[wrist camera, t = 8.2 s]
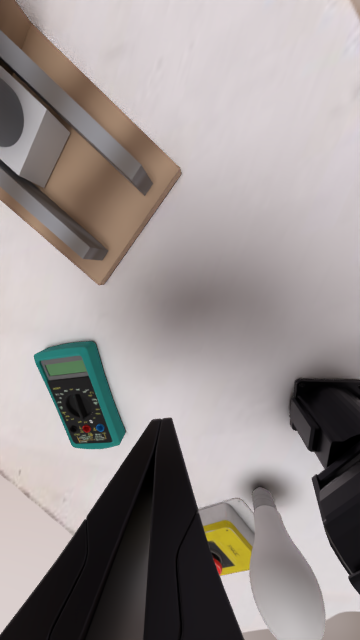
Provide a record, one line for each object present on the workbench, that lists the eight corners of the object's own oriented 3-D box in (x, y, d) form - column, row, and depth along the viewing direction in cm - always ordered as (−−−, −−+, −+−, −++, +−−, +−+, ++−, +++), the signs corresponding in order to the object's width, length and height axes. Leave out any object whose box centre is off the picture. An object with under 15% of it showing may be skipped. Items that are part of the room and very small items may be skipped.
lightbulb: (233, 498, 26) (252, 655, 15) (241, 467, 24) (268, 619, 14) (278, 508, 25) (329, 679, 15) (289, 477, 23) (356, 645, 13)
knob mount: (181, 173, 16) (156, 79, 8) (104, 284, 20) (35, 294, 12) (-19, -21, 14) (-299, -382, 6) (-62, 140, 18) (-271, 39, 10)
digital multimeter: (84, 435, 27) (70, 454, 24) (47, 345, 24) (26, 355, 21) (129, 433, 26) (120, 453, 23) (97, 337, 22) (81, 347, 20)
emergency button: (151, 557, 26) (245, 534, 22) (159, 517, 30) (239, 491, 26) (189, 595, 27) (284, 580, 23) (191, 552, 31) (272, 532, 27)
